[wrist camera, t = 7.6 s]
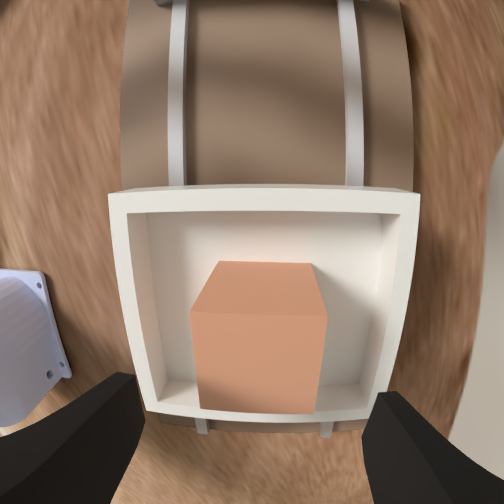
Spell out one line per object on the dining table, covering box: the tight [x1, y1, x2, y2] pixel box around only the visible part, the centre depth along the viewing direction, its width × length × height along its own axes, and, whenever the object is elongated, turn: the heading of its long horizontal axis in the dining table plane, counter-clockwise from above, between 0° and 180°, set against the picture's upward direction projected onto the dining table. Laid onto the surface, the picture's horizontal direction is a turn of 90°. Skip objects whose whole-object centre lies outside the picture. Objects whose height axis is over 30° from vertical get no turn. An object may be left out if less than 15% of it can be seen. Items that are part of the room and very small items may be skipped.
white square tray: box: [108, 184, 420, 423], centre depth 14 cm, size 11×12×4 cm
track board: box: [120, 0, 414, 438], centre depth 16 cm, size 30×16×3 cm, turn 1°
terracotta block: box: [190, 261, 328, 414], centre depth 12 cm, size 4×4×5 cm
